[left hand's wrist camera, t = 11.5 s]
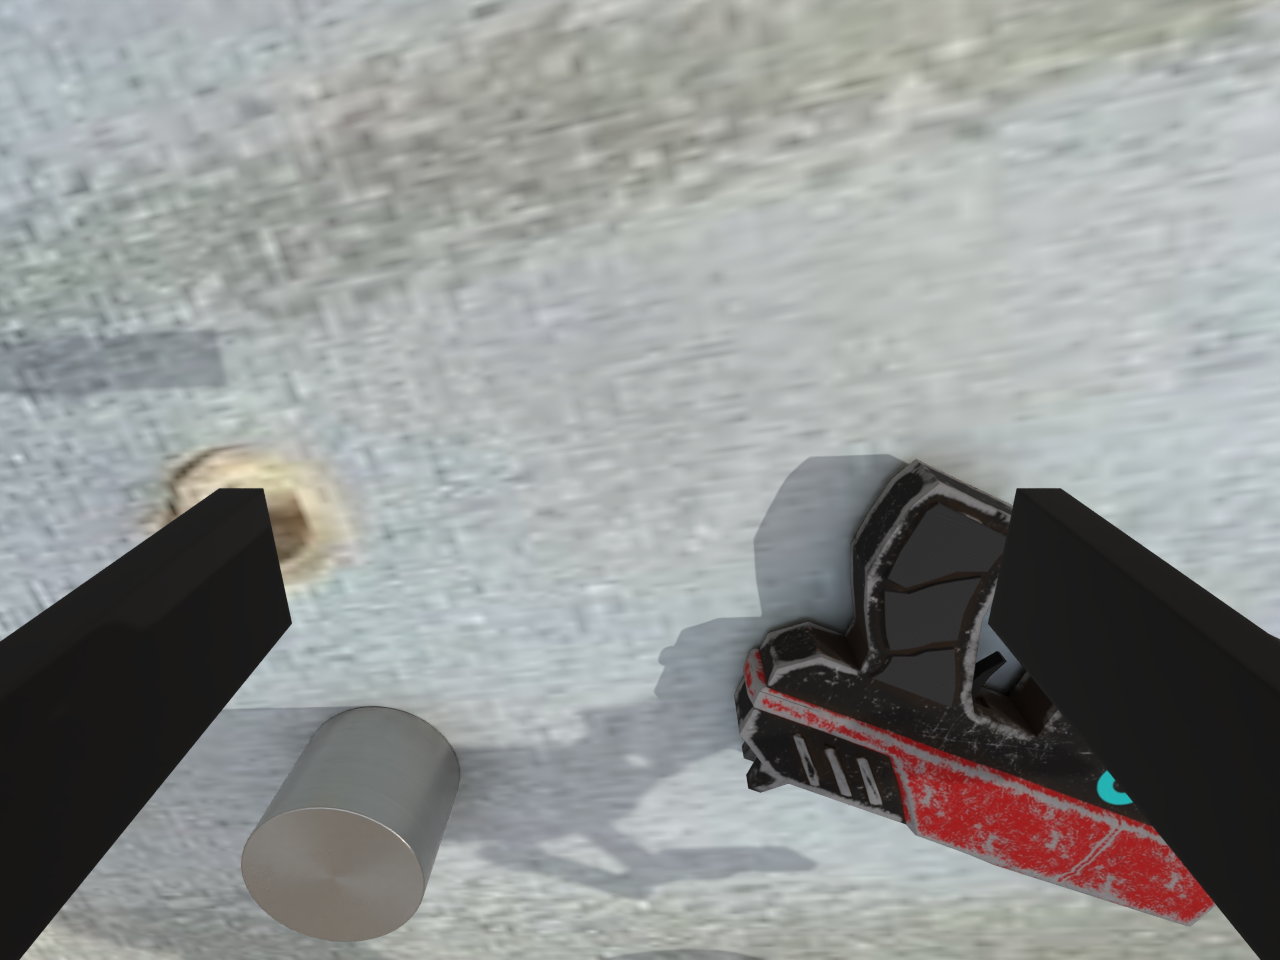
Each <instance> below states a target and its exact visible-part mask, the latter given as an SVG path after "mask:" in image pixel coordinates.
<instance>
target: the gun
mask: <svg viewBox="0 0 1280 960" xmlns="http://www.w3.org/2000/svg"><path fill="white" fill-rule="evenodd" d="M1012 508H1013V506H1012V505H1011V504H1009V503H1007V502H1004V501H1002V500H1000V499H998V498H996V497H994V496H992V495H990V494H987V493H985V492H983V491H981V490H979V489H977V488H975V487H973V486H970V485H968V484H966V483H964V482H962V481H960V480H958V479H956V478H954V477H952V476H950V475H947V474H945V473H943V472H941V471H939V470H937V469H935V468H933V467H931V466H929V465H927V464H925V463H923V462H921V461H919V460H917V459H916V460H914V461H913V462H912V463H911V464H909V465H908V466H907V467H906V468H904V469H903V470H902V471H901V472H899V473H898V474H897V475H896V476H894V477H893V478H892V479H891V481H890V482H889V483H888V485H887V486H886V487H885V489H884V490H883V492H882V493H881V495H880V496H879V498H878V499H877V501H876V502H875V504H874V505H873V507H872V508H871V510H870V511H869V513H868V515H867V516H866V518H865V520H864V521H863V523H862V525H861V526H860V528H859V530H858V531H857V533H856V535H855V537H854V538H853V540H852V542H851V590H852V600H853V610H854V620H853V621H852V623H851V625H850V627H849V629H848V631H847V633H846V634H845V635H843V634H840V633H838V632H835V631H832V630H830V629H827V628H824V627H822V626H819V625H816V624H814V623H811V622H805V623H801V624H798V625H794V626H791V627H787V628H784V629H780V630H777V631H773V632H770V633H768V634H767V636H766V638H765V640H764V642H763V643H762V645H761V647H760V649H752V650H751V651H750V653H749V655H748V657H747V660H746V662H745V665H744V668H743V671H744V678H743V679H742V681H741V683H740V685H739V687H738V688H737V690H736V692H735V694H734V697H735V704H736V711H737V717H738V724H739V731H740V735H741V736H742V738H743V739H744V740H745V742H744V744H743V745H742V749H743V756H744V758H745V759H748V760H751V761H753V762H754V763H753V764H752V766H751V768H750V770H749V771H748V773H747V775H746V776H747V783H748V789H751V790H754V791H757V792H760V793H761V792H764V791H767V790H770V789H773V788H776V787H779V786H783V785H786V784H791V785H794V786H797V787H800V788H803V789H806V790H809V791H811V792H814V793H817V794H820V795H823V796H826V797H829V798H832V799H834V800H837V801H840V802H843V803H846V804H849V805H852V806H855V807H858V808H860V809H863V810H866V811H869V812H872V813H875V814H878V815H881V816H883V817H886V818H889V819H892V820H895V821H898V822H901V823H904V824H906V825H907V826H908V827H909V828H910V829H911V831H912V832H913V833H914V834H915V835H917V836H919V837H922V838H925V839H928V840H931V841H933V842H936V843H939V844H942V845H945V846H947V847H950V848H953V849H956V850H958V851H961V852H964V853H966V854H969V855H972V856H974V857H976V858H979V859H981V860H984V861H986V862H988V863H991V864H993V865H996V866H999V867H1002V868H1005V869H1009V870H1012V871H1015V872H1018V873H1021V874H1024V875H1028V876H1031V877H1034V878H1037V879H1040V880H1043V881H1046V882H1050V883H1053V884H1056V885H1059V886H1062V887H1065V888H1069V889H1072V890H1075V891H1078V892H1081V893H1084V894H1087V895H1091V896H1094V897H1097V898H1100V899H1103V900H1106V901H1110V902H1113V903H1116V904H1119V905H1122V906H1125V907H1129V908H1132V909H1135V910H1138V911H1141V912H1144V913H1147V914H1151V915H1154V916H1157V917H1160V918H1163V919H1166V920H1170V921H1173V922H1176V923H1179V924H1182V925H1185V926H1192V925H1193V924H1194V923H1195V922H1197V921H1198V920H1199V919H1200V918H1202V917H1203V916H1204V915H1205V914H1206V913H1207V912H1209V911H1210V910H1211V909H1212V908H1213V907H1215V906H1216V904H1215V903H1214V902H1213V900H1212V899H1211V898H1210V897H1209V895H1208V894H1207V893H1206V892H1205V891H1204V889H1203V888H1202V887H1201V886H1200V884H1199V883H1198V882H1197V881H1196V879H1195V878H1194V877H1193V876H1192V875H1191V873H1190V872H1189V871H1188V870H1187V868H1186V867H1185V866H1184V865H1183V863H1182V862H1181V861H1180V860H1179V858H1178V857H1177V856H1176V855H1175V854H1174V852H1173V851H1172V850H1171V849H1170V847H1169V846H1168V845H1167V844H1166V842H1165V841H1164V840H1163V839H1162V837H1161V836H1160V835H1159V834H1158V833H1157V831H1156V830H1155V829H1154V828H1153V826H1152V825H1151V824H1150V823H1149V821H1148V820H1147V819H1146V818H1145V817H1144V815H1143V814H1142V813H1141V812H1140V810H1139V809H1138V808H1137V807H1136V805H1135V804H1134V803H1133V802H1132V800H1131V799H1130V798H1129V797H1128V796H1127V794H1126V793H1125V792H1124V791H1123V789H1122V788H1121V787H1120V786H1119V784H1118V783H1117V782H1116V781H1115V780H1114V778H1113V777H1112V776H1111V775H1110V773H1109V772H1108V771H1107V770H1106V768H1105V767H1104V766H1103V765H1102V763H1101V762H1100V761H1099V760H1098V759H1097V757H1096V756H1095V755H1094V754H1093V752H1092V751H1091V750H1090V749H1089V747H1088V746H1087V745H1086V744H1085V742H1084V741H1083V740H1082V739H1081V738H1080V736H1079V735H1078V734H1077V733H1076V731H1075V730H1074V729H1073V728H1072V726H1071V725H1070V724H1069V723H1068V722H1067V720H1066V719H1065V718H1064V717H1063V715H1062V714H1061V713H1060V712H1059V710H1058V709H1057V708H1056V707H1055V705H1054V704H1053V703H1052V702H1051V701H1050V699H1049V698H1048V697H1047V696H1046V694H1045V693H1044V692H1043V691H1042V689H1041V688H1040V687H1039V686H1038V685H1037V683H1036V682H1035V681H1034V680H1033V678H1032V677H1031V676H1030V675H1029V673H1028V672H1026V673H1025V675H1024V676H1023V677H1022V679H1021V680H1020V681H1019V683H1018V684H1017V685H1016V687H1015V688H1014V690H1013V691H1012V692H1011V694H1010V695H1009V696H1006V695H1003V694H1000V693H998V692H995V691H992V690H989V689H987V688H984V687H982V686H983V685H984V683H985V682H986V681H987V680H988V678H989V677H990V676H991V675H992V674H993V673H994V672H995V671H997V670H998V669H999V668H1000V667H1001V666H1002V665H1003V664H1004V663H1006V662H1007V661H1006V660H1005V659H1004V657H1003V656H1002V655H1001V653H1000V652H999V651H996V652H995V653H993V654H991V655H989V656H988V657H986V658H984V659H982V660H981V661H979V662H977V663H976V656H977V649H978V642H979V636H980V629H981V622H982V619H983V617H984V616H985V614H986V612H987V610H988V608H989V606H990V605H991V603H992V601H993V598H994V593H995V588H996V584H997V579H998V574H999V569H1000V565H1001V560H1002V555H1003V551H1004V546H1005V541H1006V536H1007V532H1008V527H1009V522H1010V518H1011V513H1012ZM975 663H976V664H975Z"/></svg>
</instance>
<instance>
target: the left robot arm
mask: <svg viewBox="0 0 1280 960" xmlns="http://www.w3.org/2000/svg"><path fill="white" fill-rule="evenodd" d="M291 624H292V621H291V616H290V612H289V607H288V602H287V598H286V593H285V588H284V584H283V579H282V574H281V569H280V565H279V560H278V555H277V551H276V546H275V541H274V536H273V532H272V527H271V522H270V518H269V513H268V508H267V504H266V499H265V494H264V489H263V488H219V489H218V490H216V491H215V492H213V493H212V494H211V495H209V496H208V497H206V498H205V499H203V500H202V501H201V502H199V503H198V504H196V505H195V506H193V507H192V508H191V509H189V510H188V511H186V512H185V513H183V514H182V515H181V516H179V517H178V518H176V519H175V520H173V521H172V522H171V523H169V524H168V525H166V526H165V527H163V528H162V529H161V530H159V531H158V532H156V533H155V534H153V535H152V536H151V537H149V538H148V539H146V540H145V541H143V542H142V543H141V544H139V545H138V546H136V547H135V548H133V549H132V550H131V551H129V552H128V553H126V554H125V555H123V556H122V557H120V558H119V559H118V560H116V561H115V562H113V563H112V564H110V565H109V566H108V567H106V568H105V569H103V570H102V571H100V572H99V573H98V574H96V575H95V576H93V577H92V578H90V579H89V580H88V581H86V582H85V583H83V584H82V585H80V586H79V587H78V588H76V589H75V590H73V591H72V592H70V593H69V594H68V595H66V596H65V597H63V598H62V599H60V600H59V601H58V602H56V603H55V604H53V605H52V606H50V607H49V608H48V609H46V610H45V611H43V612H42V613H40V614H39V615H38V616H36V617H35V618H33V619H32V620H30V621H29V622H28V623H26V624H25V625H23V626H22V627H20V628H19V629H18V630H16V631H15V632H13V633H12V634H10V635H9V636H8V637H6V638H5V639H3V640H2V641H0V960H20V958H21V957H22V956H23V955H24V953H25V952H26V951H27V950H28V949H29V947H30V946H31V945H32V944H33V942H34V941H35V940H36V939H37V937H38V936H39V935H40V934H41V932H42V931H43V930H44V929H45V928H46V926H47V925H48V924H49V923H50V921H51V920H52V919H53V918H54V916H55V915H56V914H57V913H58V912H59V910H60V909H61V908H62V907H63V905H64V904H65V903H66V902H67V900H68V899H69V898H70V897H71V895H72V894H73V893H74V892H75V891H76V889H77V888H78V887H79V886H80V884H81V883H82V882H83V881H84V879H85V878H86V877H87V876H88V875H89V873H90V872H91V871H92V870H93V868H94V867H95V866H96V865H97V863H98V862H99V861H100V860H101V858H102V857H103V856H104V855H105V854H106V852H107V851H108V850H109V849H110V847H111V846H112V845H113V844H114V842H115V841H116V840H117V839H118V837H119V836H120V835H121V834H122V833H123V831H124V830H125V829H126V828H127V826H128V825H129V824H130V823H131V821H132V820H133V819H134V818H135V817H136V815H137V814H138V813H139V812H140V810H141V809H142V808H143V807H144V805H145V804H146V803H147V802H148V800H149V799H150V798H151V797H152V796H153V794H154V793H155V792H156V791H157V789H158V788H159V787H160V786H161V784H162V783H163V782H164V781H165V780H166V778H167V777H168V776H169V775H170V773H171V772H172V771H173V770H174V768H175V767H176V766H177V765H178V763H179V762H180V761H181V760H182V759H183V757H184V756H185V755H186V754H187V752H188V751H189V750H190V749H191V747H192V746H193V745H194V744H195V742H196V741H197V740H198V739H199V738H200V736H201V735H202V734H203V733H204V731H205V730H206V729H207V728H208V726H209V725H210V724H211V723H212V722H213V720H214V719H215V718H216V717H217V715H218V714H219V713H220V712H221V710H222V709H223V708H224V707H225V705H226V704H227V703H228V702H229V701H230V699H231V698H232V697H233V696H234V694H235V693H236V692H237V691H238V689H239V688H240V687H241V686H242V685H243V683H244V682H245V681H246V680H247V678H248V677H249V676H250V675H251V673H252V672H253V671H254V670H255V668H256V667H257V666H258V665H259V664H260V662H261V661H262V660H263V659H264V657H265V656H266V655H267V654H268V652H269V651H270V650H271V649H272V648H273V646H274V645H275V644H276V643H277V641H278V640H279V639H280V638H281V636H282V635H283V634H284V633H285V631H286V630H287V629H288V628H289V627H290V625H291ZM988 624H989V625H990V627H991V628H992V629H993V630H994V631H995V633H996V634H997V635H998V636H999V638H1000V639H1001V640H1002V641H1003V643H1004V644H1005V645H1006V646H1007V648H1008V649H1009V650H1010V651H1011V652H1012V654H1013V655H1014V656H1015V657H1016V659H1017V660H1018V661H1019V662H1020V664H1021V665H1022V666H1023V667H1024V668H1025V670H1026V671H1027V672H1028V673H1029V675H1030V676H1031V677H1032V678H1033V680H1034V681H1035V682H1036V683H1037V685H1038V686H1039V687H1040V688H1041V689H1042V691H1043V692H1044V693H1045V694H1046V696H1047V697H1048V698H1049V699H1050V701H1051V702H1052V703H1053V704H1054V705H1055V707H1056V708H1057V709H1058V710H1059V712H1060V713H1061V714H1062V715H1063V717H1064V718H1065V719H1066V720H1067V722H1068V723H1069V724H1070V725H1071V726H1072V728H1073V729H1074V730H1075V731H1076V733H1077V734H1078V735H1079V736H1080V738H1081V739H1082V740H1083V741H1084V742H1085V744H1086V745H1087V746H1088V747H1089V749H1090V750H1091V751H1092V752H1093V754H1094V755H1095V756H1096V757H1097V759H1098V760H1099V761H1100V762H1101V763H1102V765H1103V766H1104V767H1105V768H1106V770H1107V771H1108V772H1109V773H1110V775H1111V776H1112V777H1113V778H1114V780H1115V781H1116V782H1117V783H1118V784H1119V786H1120V787H1121V788H1122V789H1123V791H1124V792H1125V793H1126V794H1127V796H1128V797H1129V798H1130V799H1131V800H1132V802H1133V803H1134V804H1135V805H1136V807H1137V808H1138V809H1139V810H1140V812H1141V813H1142V814H1143V815H1144V817H1145V818H1146V819H1147V820H1148V821H1149V823H1150V824H1151V825H1152V826H1153V828H1154V829H1155V830H1156V831H1157V833H1158V834H1159V835H1160V836H1161V837H1162V839H1163V840H1164V841H1165V842H1166V844H1167V845H1168V846H1169V847H1170V849H1171V850H1172V851H1173V852H1174V854H1175V855H1176V856H1177V857H1178V858H1179V860H1180V861H1181V862H1182V863H1183V865H1184V866H1185V867H1186V868H1187V870H1188V871H1189V872H1190V873H1191V875H1192V876H1193V877H1194V878H1195V879H1196V881H1197V882H1198V883H1199V884H1200V886H1201V887H1202V888H1203V889H1204V891H1205V892H1206V893H1207V894H1208V895H1209V897H1210V898H1211V899H1212V900H1213V902H1214V903H1215V904H1216V905H1217V907H1218V908H1219V909H1220V910H1221V912H1222V913H1223V914H1224V915H1225V916H1226V918H1227V919H1228V920H1229V921H1230V923H1231V924H1232V925H1233V926H1234V928H1235V929H1236V930H1237V931H1238V932H1239V934H1240V935H1241V936H1242V937H1243V939H1244V940H1245V941H1246V942H1247V944H1248V945H1249V946H1250V947H1251V949H1252V950H1253V951H1254V952H1255V953H1256V955H1257V956H1258V957H1259V958H1260V960H1280V639H1278V638H1276V637H1274V636H1272V635H1270V634H1268V633H1267V632H1265V631H1264V630H1262V629H1261V628H1260V627H1258V626H1257V625H1255V624H1254V623H1252V622H1251V621H1250V620H1248V619H1247V618H1245V617H1244V616H1242V615H1241V614H1240V613H1238V612H1237V611H1235V610H1234V609H1232V608H1231V607H1230V606H1228V605H1227V604H1225V603H1224V602H1222V601H1221V600H1220V599H1218V598H1217V597H1215V596H1214V595H1212V594H1211V593H1210V592H1208V591H1207V590H1205V589H1204V588H1202V587H1201V586H1200V585H1198V584H1197V583H1195V582H1194V581H1192V580H1191V579H1190V578H1188V577H1187V576H1185V575H1184V574H1182V573H1181V572H1180V571H1178V570H1177V569H1175V568H1174V567H1172V566H1171V565H1170V564H1168V563H1167V562H1165V561H1164V560H1162V559H1161V558H1160V557H1158V556H1157V555H1155V554H1154V553H1152V552H1151V551H1149V550H1148V549H1147V548H1145V547H1144V546H1142V545H1141V544H1139V543H1138V542H1137V541H1135V540H1134V539H1132V538H1131V537H1129V536H1128V535H1127V534H1125V533H1124V532H1122V531H1121V530H1119V529H1118V528H1117V527H1115V526H1114V525H1112V524H1111V523H1109V522H1108V521H1107V520H1105V519H1104V518H1102V517H1101V516H1099V515H1098V514H1097V513H1095V512H1094V511H1092V510H1091V509H1089V508H1088V507H1087V506H1085V505H1084V504H1082V503H1081V502H1079V501H1078V500H1077V499H1075V498H1074V497H1072V496H1071V495H1069V494H1068V493H1067V492H1065V491H1064V490H1062V489H1061V488H1017V489H1016V494H1015V499H1014V504H1013V508H1012V513H1011V518H1010V522H1009V527H1008V532H1007V536H1006V541H1005V546H1004V551H1003V555H1002V560H1001V565H1000V569H999V574H998V579H997V584H996V588H995V593H994V598H993V602H992V607H991V612H990V616H989V621H988Z"/></svg>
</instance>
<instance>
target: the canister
mask: <svg viewBox="0 0 1280 960" xmlns="http://www.w3.org/2000/svg"><path fill="white" fill-rule="evenodd" d="M459 780H460V772H459V765H458V761H457V758H456V755H455V753H454V751H453V749H452V748H451V746H450V745H449V743H448V742H447V740H446V739H445V738H444V737H443V736H442V735H441V734H440V733H439V732H438V731H437V730H436V729H435V728H434V727H432V726H431V725H429V724H428V723H427V722H425V721H423V720H421V719H420V718H418V717H416V716H413V715H411V714H408V713H406V712H402V711H399V710H395V709H390V708H382V707H364V708H357V709H353V710H349V711H346V712H343V713H341V714H338V715H336V716H334V717H333V718H331V719H329V720H328V721H327V722H325V723H324V724H323V725H322V726H321V727H320V728H319V729H318V730H317V731H316V732H315V734H314V735H313V737H312V738H311V740H310V741H309V743H308V745H307V746H306V748H305V749H304V751H303V753H302V754H301V756H300V757H299V759H298V761H297V762H296V764H295V765H294V767H293V768H292V770H291V772H290V773H289V775H288V776H287V778H286V780H285V781H284V783H283V784H282V786H281V788H280V789H279V791H278V792H277V794H276V795H275V797H274V799H273V800H272V802H271V803H270V805H269V807H268V808H267V810H266V811H265V813H264V815H263V816H262V818H261V819H260V821H259V822H258V824H257V826H256V827H255V829H254V830H253V832H252V834H251V835H250V837H249V838H248V840H247V842H246V844H245V847H244V850H243V854H242V862H241V868H242V875H243V879H244V882H245V885H246V887H247V889H248V891H249V893H250V894H251V896H252V897H253V899H254V900H255V901H256V903H257V904H258V905H259V906H260V907H261V908H262V909H263V910H264V911H265V912H266V913H267V914H268V915H270V916H271V917H272V918H274V919H275V920H276V921H278V922H279V923H281V924H283V925H285V926H286V927H288V928H290V929H292V930H295V931H297V932H299V933H302V934H305V935H308V936H311V937H315V938H319V939H324V940H330V941H341V942H354V941H363V940H369V939H373V938H377V937H380V936H383V935H386V934H388V933H390V932H392V931H394V930H396V929H398V928H399V927H401V926H402V925H404V924H405V923H406V922H407V921H408V920H409V919H410V918H411V917H412V916H413V915H414V913H415V912H416V911H417V909H418V907H419V906H420V904H421V901H422V899H423V896H424V893H425V890H426V886H427V883H428V880H429V877H430V874H431V871H432V868H433V865H434V862H435V858H436V855H437V852H438V849H439V846H440V843H441V840H442V837H443V833H444V830H445V827H446V824H447V821H448V818H449V815H450V812H451V808H452V805H453V802H454V799H455V796H456V793H457V790H458V786H459Z"/></svg>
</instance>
